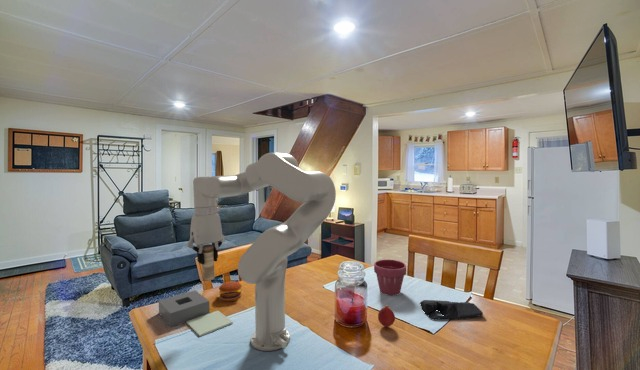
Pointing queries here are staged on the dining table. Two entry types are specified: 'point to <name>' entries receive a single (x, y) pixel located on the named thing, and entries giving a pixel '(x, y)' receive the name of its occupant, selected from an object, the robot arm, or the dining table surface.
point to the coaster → (209, 323)
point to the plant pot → (390, 275)
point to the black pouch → (450, 309)
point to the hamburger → (230, 291)
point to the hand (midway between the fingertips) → (208, 261)
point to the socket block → (183, 307)
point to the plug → (208, 262)
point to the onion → (386, 316)
